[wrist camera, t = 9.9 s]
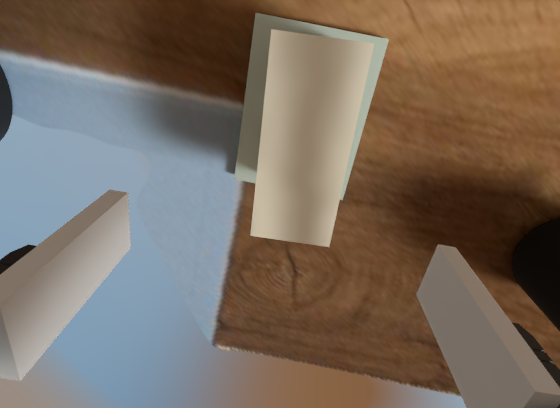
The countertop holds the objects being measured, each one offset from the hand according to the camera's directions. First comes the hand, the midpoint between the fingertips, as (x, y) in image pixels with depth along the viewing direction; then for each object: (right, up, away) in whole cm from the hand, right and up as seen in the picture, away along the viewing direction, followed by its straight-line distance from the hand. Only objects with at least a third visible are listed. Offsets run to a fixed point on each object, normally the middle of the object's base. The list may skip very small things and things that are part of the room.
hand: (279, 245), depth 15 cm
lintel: (+2, +8, +14) cm, 16 cm away
